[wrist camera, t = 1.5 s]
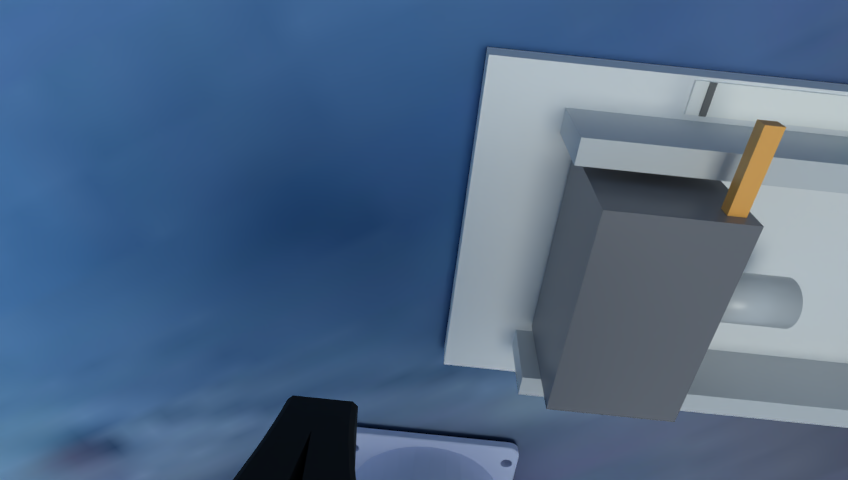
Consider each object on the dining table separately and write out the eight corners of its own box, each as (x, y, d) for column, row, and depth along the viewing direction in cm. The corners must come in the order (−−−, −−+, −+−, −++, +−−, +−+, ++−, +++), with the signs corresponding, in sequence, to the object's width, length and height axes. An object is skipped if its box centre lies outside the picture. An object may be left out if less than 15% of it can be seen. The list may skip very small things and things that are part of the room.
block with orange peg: (719, 345, 21) (770, 431, 18) (531, 326, 21) (546, 408, 18) (836, 95, 16) (938, 148, 13) (593, 70, 16) (629, 115, 13)
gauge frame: (975, 401, 23) (1120, 542, 18) (444, 347, 23) (440, 473, 18) (1207, 121, 17) (1523, 215, 12) (487, 46, 17) (500, 109, 12)
